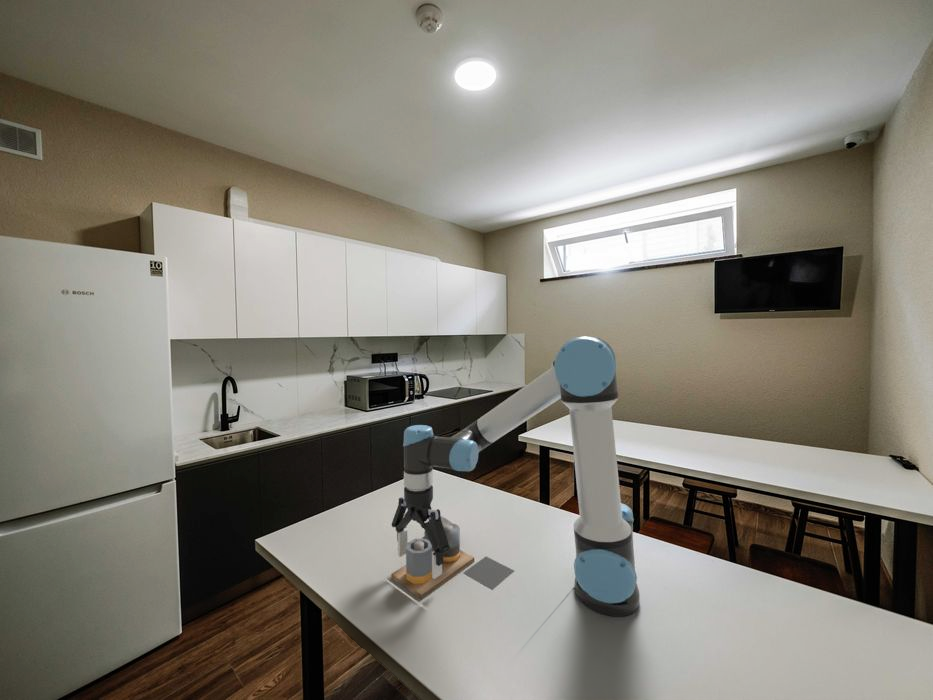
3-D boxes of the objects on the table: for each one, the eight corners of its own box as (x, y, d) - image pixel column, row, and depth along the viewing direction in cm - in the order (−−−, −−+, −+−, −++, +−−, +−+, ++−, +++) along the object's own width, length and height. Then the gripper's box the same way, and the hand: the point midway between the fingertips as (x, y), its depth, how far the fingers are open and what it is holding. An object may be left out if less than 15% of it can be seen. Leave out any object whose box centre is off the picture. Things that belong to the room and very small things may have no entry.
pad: (514, 572, 101) (514, 570, 101) (492, 591, 93) (492, 589, 93) (485, 557, 107) (485, 556, 107) (463, 574, 100) (462, 572, 100)
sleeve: (437, 574, 97) (436, 544, 97) (418, 587, 92) (417, 556, 92) (420, 564, 102) (420, 535, 101) (401, 575, 97) (401, 546, 96)
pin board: (474, 562, 105) (474, 528, 104) (421, 600, 90) (421, 560, 89) (444, 546, 113) (444, 514, 112) (391, 579, 98) (391, 542, 97)
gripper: (463, 494, 91) (463, 578, 92) (399, 470, 107) (400, 541, 108) (441, 505, 85) (442, 594, 86) (378, 477, 102) (379, 552, 102)
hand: (419, 564), depth 97 cm, fingers open, 13 cm apart
